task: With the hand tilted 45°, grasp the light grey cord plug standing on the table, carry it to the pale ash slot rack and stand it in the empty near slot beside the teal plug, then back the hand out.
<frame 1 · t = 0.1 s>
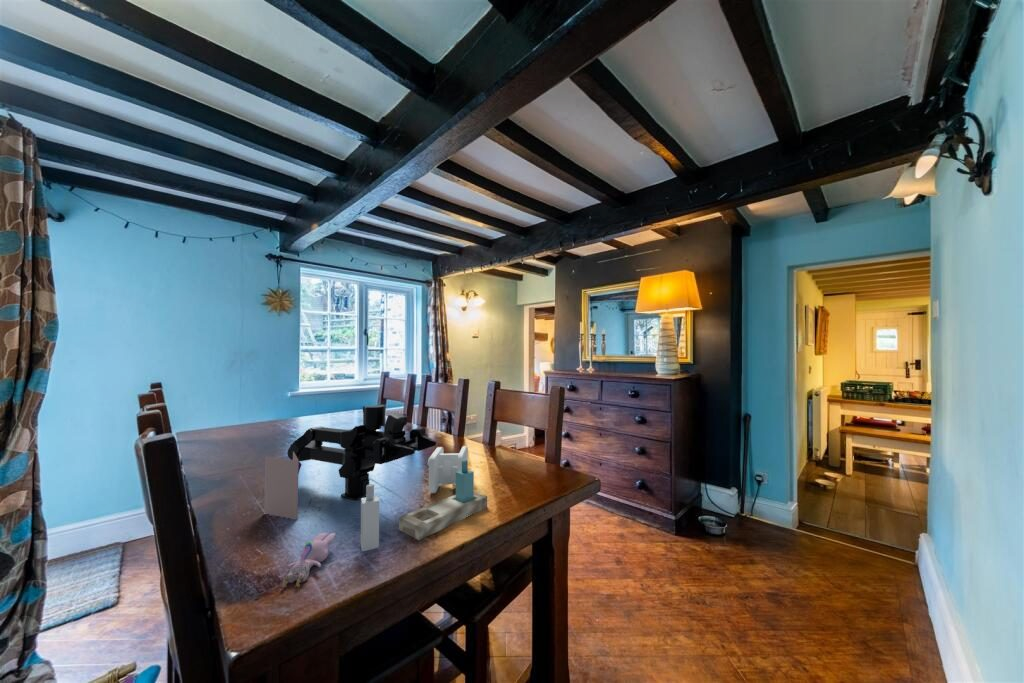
hand: (425, 447, 98), 17 cm above the table, tool horizontal, fingers open, 9 cm apart
teal plug: (464, 509, 97), resting in slot rack
greeting card: (282, 516, 94), on the table
grey plug: (369, 545, 79), on the table
pink horned figurine: (312, 567, 71), on the table
cable organizer: (448, 488, 113), on the table
slot rack: (425, 527, 87), on the table
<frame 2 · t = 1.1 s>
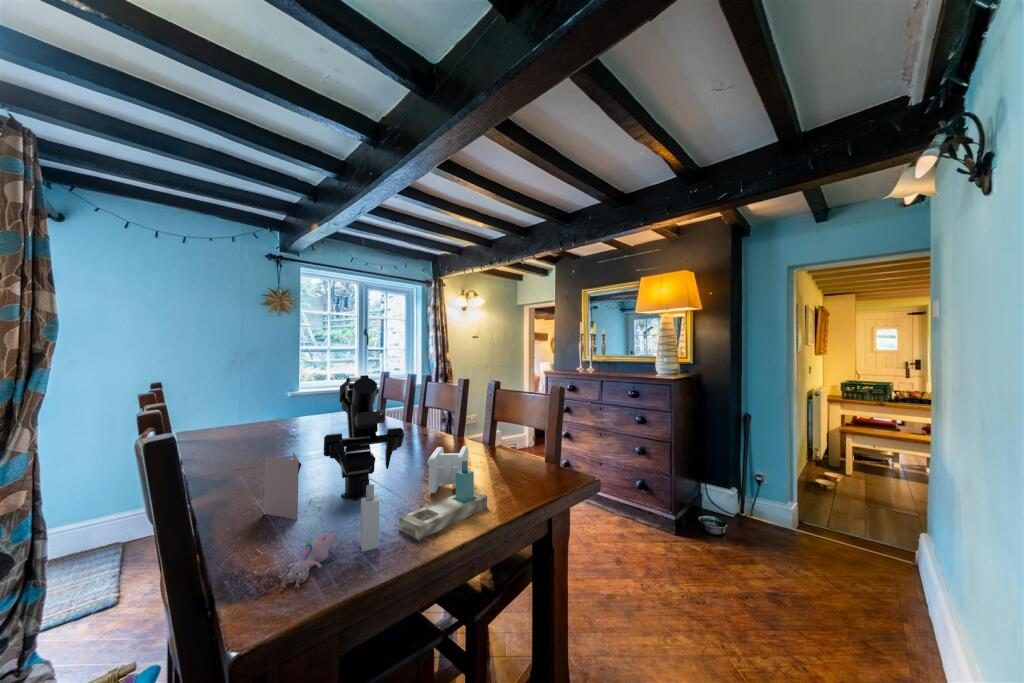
hand: (367, 471, 86), 14 cm above the table, tool tilted 45°, fingers open, 9 cm apart
nothing on the table moved.
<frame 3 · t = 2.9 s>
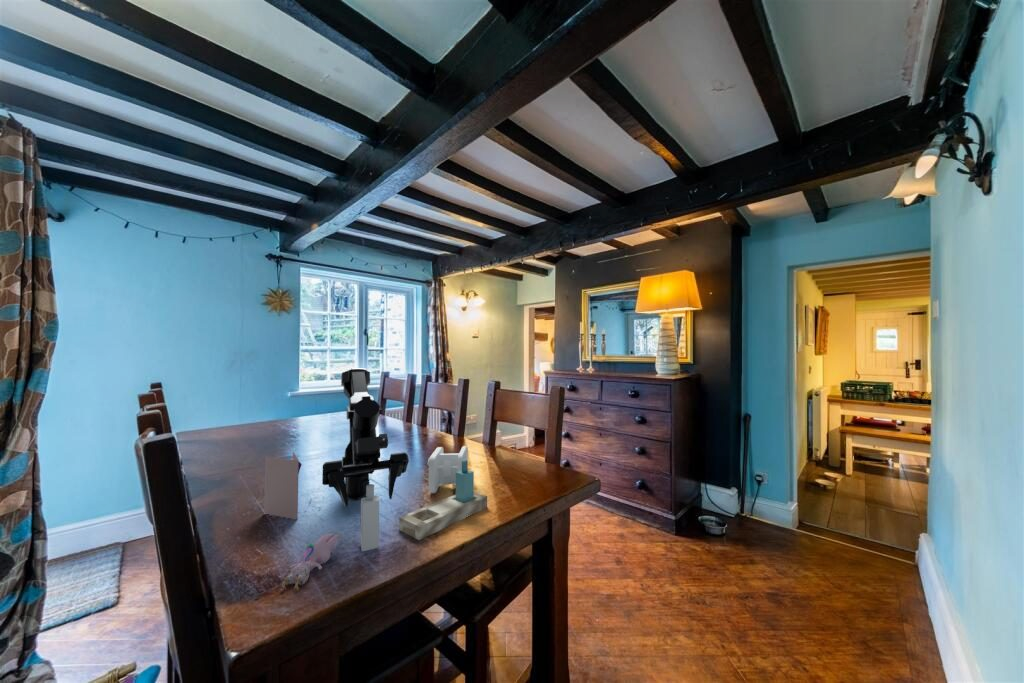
hand: (369, 502, 80), 9 cm above the table, tool tilted 45°, fingers open, 9 cm apart
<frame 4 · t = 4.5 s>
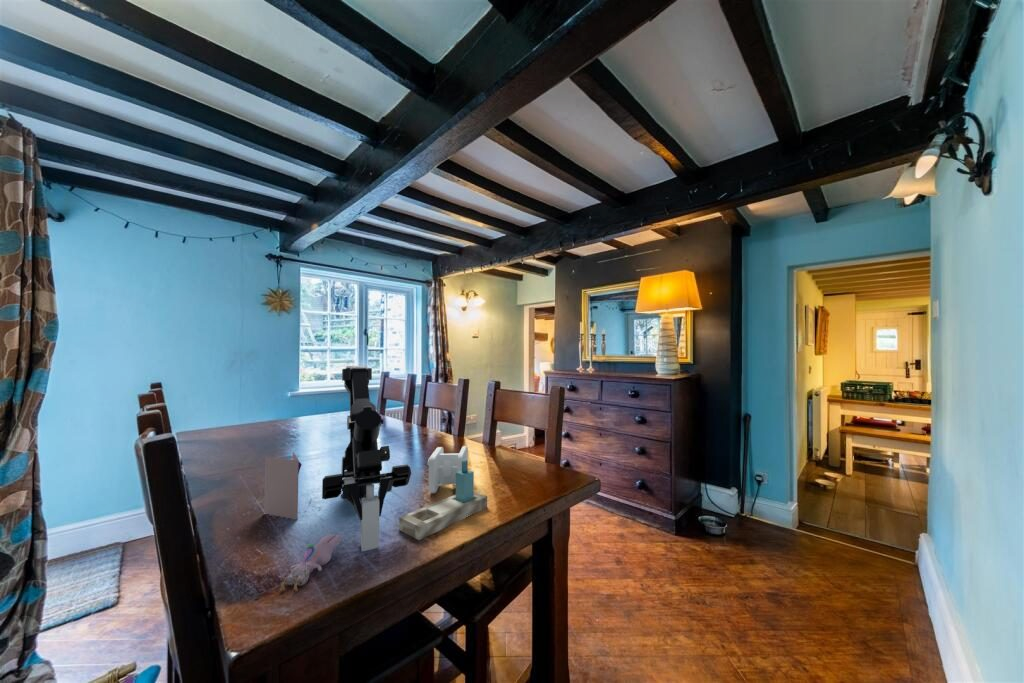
hand: (370, 517, 78), 7 cm above the table, tool tilted 45°, fingers closed on grey plug, 3 cm apart
grey plug: (369, 545, 79), on the table, touching gripper
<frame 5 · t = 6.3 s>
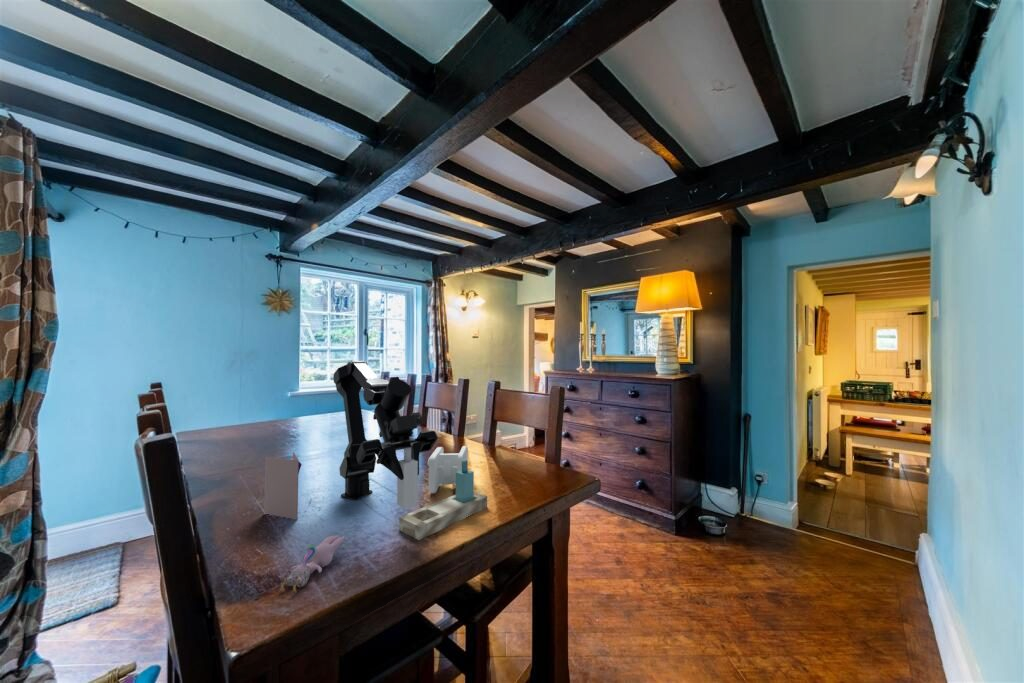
hand: (410, 477, 83), 14 cm above the table, tool tilted 45°, fingers closed on grey plug, 3 cm apart
grey plug: (407, 504, 84), point 7 cm above the table, touching gripper
when the fingers open (8 cm above the table, at t = 8.4 s): grey plug stays where it is, resting in slot rack.
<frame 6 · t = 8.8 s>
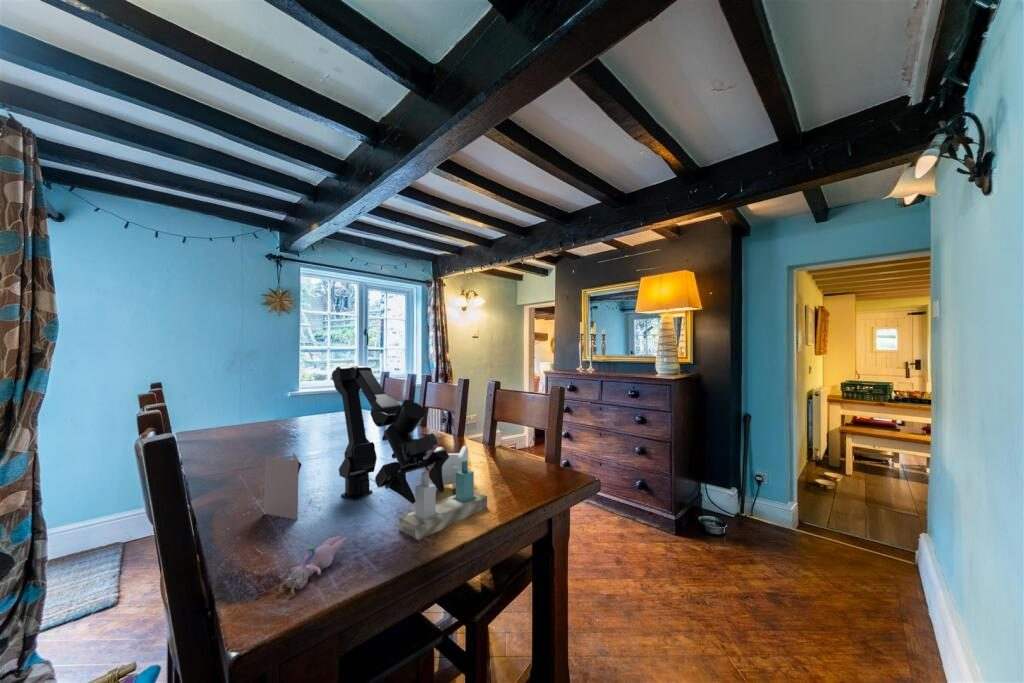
hand: (429, 497, 86), 8 cm above the table, tool tilted 45°, fingers open, 8 cm apart
grey plug: (425, 527, 87), resting in slot rack
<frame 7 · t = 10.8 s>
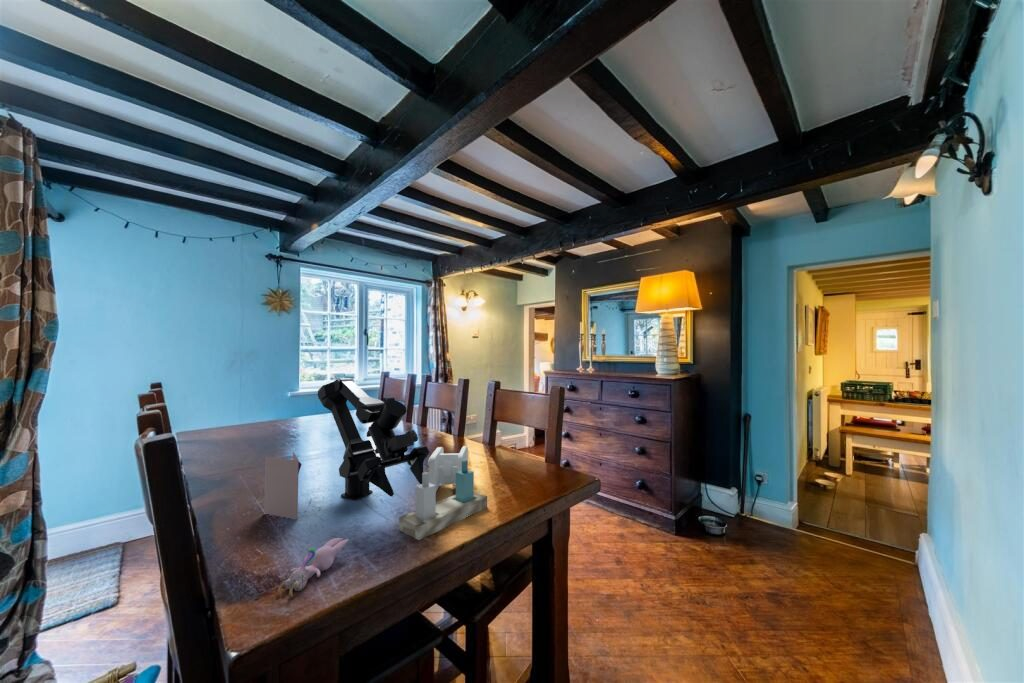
hand: (408, 490, 92), 7 cm above the table, tool tilted 45°, fingers open, 9 cm apart
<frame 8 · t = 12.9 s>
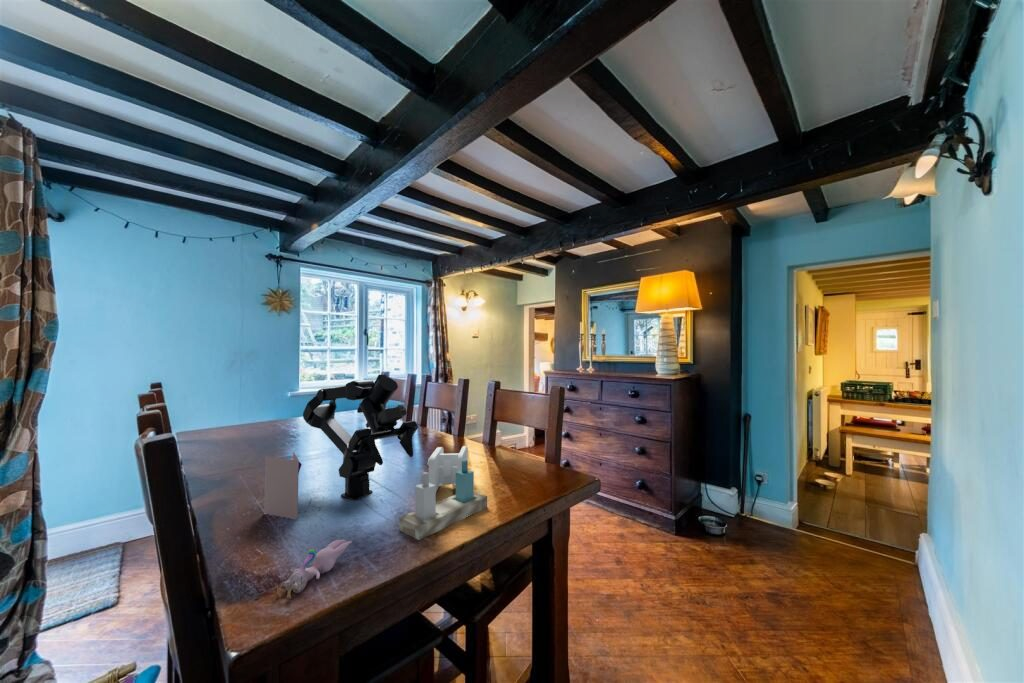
hand: (397, 460, 96), 14 cm above the table, tool tilted 45°, fingers open, 9 cm apart
at the end: grey plug 0.1 cm off-centre on the slot rack, point 0.0 cm above the slot rack's base; grey plug tilted 0°; teal plug moved 0.0 cm from its start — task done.
